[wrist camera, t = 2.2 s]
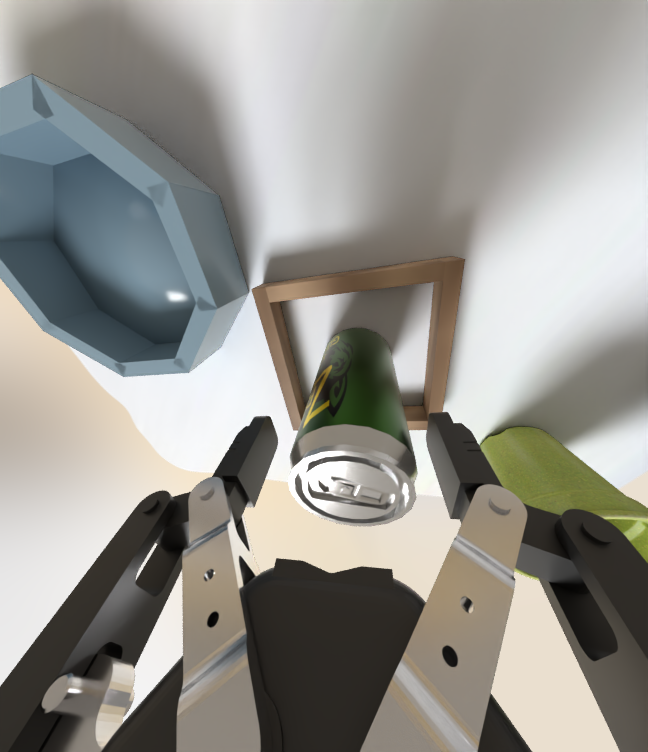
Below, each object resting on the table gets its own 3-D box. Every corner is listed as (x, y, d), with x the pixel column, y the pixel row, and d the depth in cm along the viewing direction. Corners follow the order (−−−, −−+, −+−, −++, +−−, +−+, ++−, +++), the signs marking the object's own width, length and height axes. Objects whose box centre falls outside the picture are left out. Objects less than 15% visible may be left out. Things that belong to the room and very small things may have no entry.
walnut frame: (453, 256, 14) (464, 259, 13) (433, 414, 21) (439, 429, 19) (262, 283, 17) (251, 289, 15) (298, 416, 24) (293, 430, 22)
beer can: (400, 332, 17) (450, 468, 7) (378, 388, 20) (394, 540, 10) (331, 317, 18) (288, 429, 7) (320, 375, 20) (278, 511, 10)
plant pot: (598, 412, 18) (752, 528, 11) (548, 482, 23) (632, 595, 16) (472, 408, 20) (535, 508, 13) (450, 475, 25) (486, 575, 18)
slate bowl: (189, 97, 12) (112, 37, 9) (264, 343, 20) (240, 369, 16) (4, 162, 15) (-114, 138, 11) (129, 355, 23) (82, 379, 19)
